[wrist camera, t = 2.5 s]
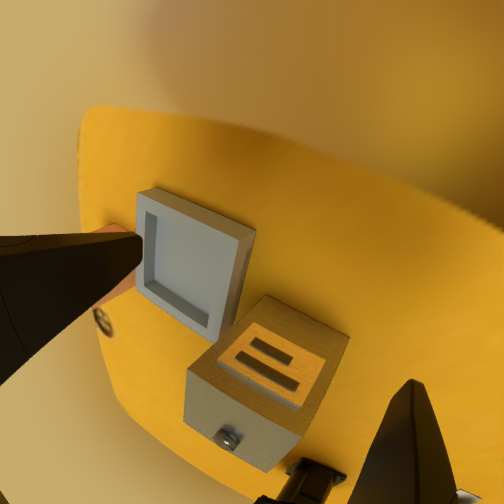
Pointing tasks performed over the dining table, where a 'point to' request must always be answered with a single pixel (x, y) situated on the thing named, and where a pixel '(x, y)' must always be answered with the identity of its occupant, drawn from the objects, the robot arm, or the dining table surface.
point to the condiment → (467, 497)
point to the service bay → (191, 261)
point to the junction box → (263, 382)
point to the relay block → (126, 282)
